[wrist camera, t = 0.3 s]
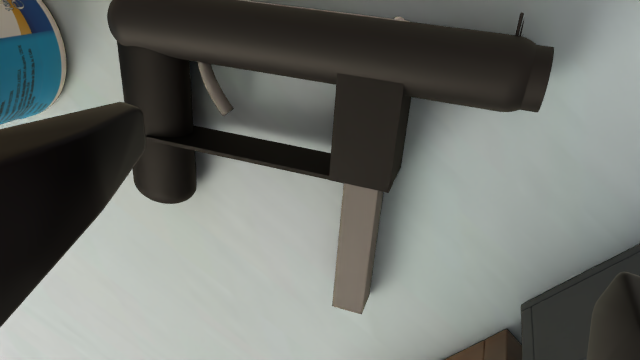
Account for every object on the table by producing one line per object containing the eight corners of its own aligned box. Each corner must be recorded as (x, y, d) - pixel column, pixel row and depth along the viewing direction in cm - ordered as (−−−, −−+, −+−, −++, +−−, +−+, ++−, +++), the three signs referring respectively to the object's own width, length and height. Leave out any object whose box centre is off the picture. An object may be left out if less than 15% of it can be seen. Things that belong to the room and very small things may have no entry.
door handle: (473, 357, 25) (569, 17, 18) (126, 256, 30) (85, -39, 23) (478, 314, 28) (562, 4, 20) (160, 228, 33) (132, -43, 26)
